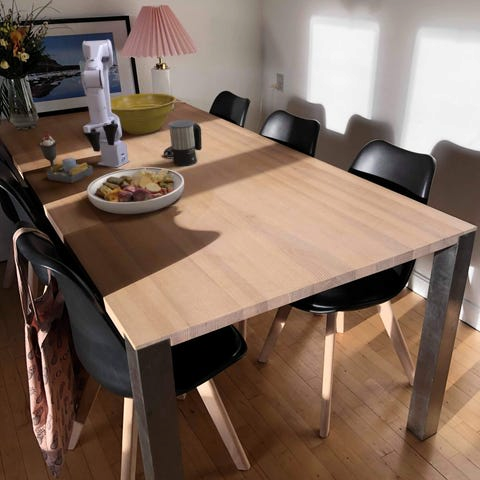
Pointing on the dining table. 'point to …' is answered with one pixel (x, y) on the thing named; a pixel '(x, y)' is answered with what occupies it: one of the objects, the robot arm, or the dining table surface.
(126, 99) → the planter bowl
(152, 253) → the dining table surface
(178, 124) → the milk frother
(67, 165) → the blue-grey rounded cylinder
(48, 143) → the sundae
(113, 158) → the robot arm
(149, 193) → the bowl
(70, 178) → the grey square frame
